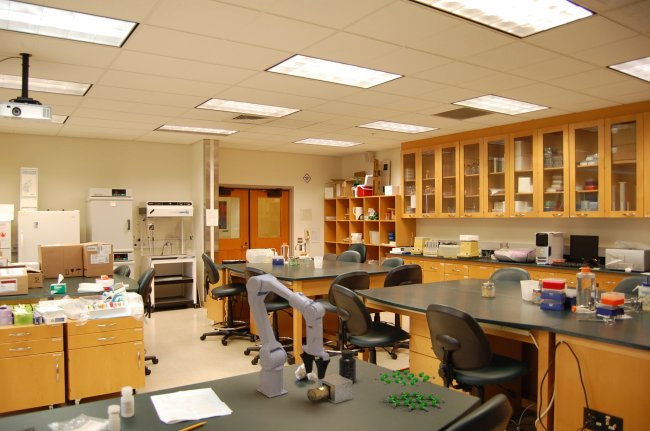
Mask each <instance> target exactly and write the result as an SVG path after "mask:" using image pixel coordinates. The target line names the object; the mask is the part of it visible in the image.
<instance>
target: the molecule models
mask: <svg viewBox="0 0 650 431" xmlns="http://www.w3.org/2000/svg"><path fill="white" fill-rule="evenodd" d="M410 371H411V370H410V369H407V370H404V371H403V372H400V371H399V370H395V369H392V371H391V372H392V374H388V373H383V372H379V375H380V377H376V376H375V377H374V381H377V380H379V381H380V382H384V383H383V385H384V386H387V385H390V384H391V383H395V384H400V385H399V387H400V388H404V387H406V385H410V386H411V387H413V386H416V387H420V384H419V383H418V382H419V381H422V383H428V384H432V381H431V380H430V379H433V380H435V379H436V376H429V375H428V374H426V375H425V372H424V371H422V372H419V373H418V374H415V373H414V372H410ZM402 375H404V376H402ZM416 376H417V377H416ZM388 377H392V378H393V379H394V380H391V379H389V378H388ZM418 377H419V378H421V379H419V378H418ZM404 379H406V380H408V381H410V382H406V380H405V381H404ZM402 380H403V381H402ZM400 393H401V395H400V396H397V395H396V394H393V395H392V394H391V393H389V394H388V397H389V398H388V399H386V398H382V402H389V403H391V404H392V403H393V404H392V406H393V407H394V408H395V407H396V406H398V405H401V404H402V405H404V406H408V410H410V411H411V410H412V409H413V410H414V409H415V408H419V409H420V410H423V409H424V410H425V411H428V410H429V407H426V406H427V405H431V406H433V407H435V406H437V408H440V407H441V405H440V404H438V403H439V402H445V400H446V399H445V398H441V399H439V398H438V397H433V396H435V394H434V393H433V392H431V393H430V394H428V395H426V396H424V395H423V394H419V391H418V390H416V391H413V392H412V393H409V392H408V391H405V392H404V391H403V390H401V391H400ZM409 396H413V397H415V399H414V398H413V399H412V397H409ZM398 399H401V400H404V401H403V402H402V401H401V402H400V401H399V400H398ZM423 399H428V400H431V402H427V401H426V400H423ZM412 401H414V402H415V401H416V402H417V403H420V404H418V405H415V403H411V402H412Z"/></svg>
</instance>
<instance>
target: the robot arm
mask: <svg viewBox="0 0 650 431" xmlns="http://www.w3.org/2000/svg"><path fill="white" fill-rule="evenodd" d="M245 287H246V291H247V301H248V304H249V308H250V311H251V312H250V313H251V314H252V318H253V321H254V325H255V328H256V331H257V334H258V337H259V340H260V344H261V347H260V349H259V351H258V356H259V365H260V367H261V368H260V371H259V377H258V378H259V381H258V382H259V387H258V388H257V391H258V392H260V393H262V394H263V395H264V396H266V397H268V398H273V397H277V396H281V395H285V394H288V393H289V392H288V390H286V389H284V367H285V364H286V362H287V360H288V355H287V352H286V350H285V349H284V347H283V345H282V343H280V342H279V341H278V340H277V339H276V337H275V333H274V330H273V327H272V324H271V321H270V317H269V314H268V310H267V308H266V304H265V299H266V296H267V295H268V294H269V293H270V292H273V293H274V294H276V295H278V296H280V297H281V298H283V299H285V300H287V301H288V304H289V306H290V307H291V308H293V309H295V310H296V311H297V312H299V313H300V314H302V317H303V318H304V320H305V325H306V329H305V330H306V345H301V346H300V347H301V349H300V350H301V352H302V353H300V354H299V356H300V358H301V360H302V363H303V365H304V370H305V373H306V375H308V374H312V373H313V370H314V367H313V366H314V362H315V366H316V370H317V372H316V373H317V378H318V379H319V380H320V379H324V377H325V376H326V372H327V369H328V366H329V364H330V362H331V358H330V354H329V353H328V352H326V348H325V347H324V341H323V340H324V339H323V338H324V336H323V334H324V333H323V332H324V331H323V329H324V328H323V326H324V325H323V317H325V315H326V308H325V305H324V304H322V302H320V301H314V299H312V298H311V299H310V298H308V297H307V296H306V295H304V292H301V291H300V292H299V291H297V292H294V291H292V290H291V289H290V288H288V287H287V286H285V285H284V284H283V283H282V282H281V281H279V280H278V278H277V277H276V276H273V275H272V274H271V273H266V274H260V275H257V276H256V275H255V276H251V277H249V278H248V279H247V282H246V284H245ZM315 357H317V358H315ZM318 379H317V380H318Z"/></svg>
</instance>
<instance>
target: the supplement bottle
mask: <svg viewBox="0 0 650 431" xmlns="http://www.w3.org/2000/svg"><path fill="white" fill-rule="evenodd" d="M340 355H341V356H340V358H339V359H338V375H340V376H342V377H345V378H347V379H349V380H352V384H354V383H355V382H356V381H357V359H356V358H355V357H354V356H355V354H354V350H353V349H352V350H351V349H344V350H341V354H340Z"/></svg>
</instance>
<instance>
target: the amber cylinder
mask: <svg viewBox="0 0 650 431" xmlns="http://www.w3.org/2000/svg"><path fill="white" fill-rule="evenodd" d="M329 396H331V386H329V385H324V386H321V387H318V386H317V387H315V388H309V389H308V390H307V391H306V397H307V399H308V401H309V402H311V403H312V402H315V401H317V400H320V399H321V400H322V399H325V397H329Z"/></svg>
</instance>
